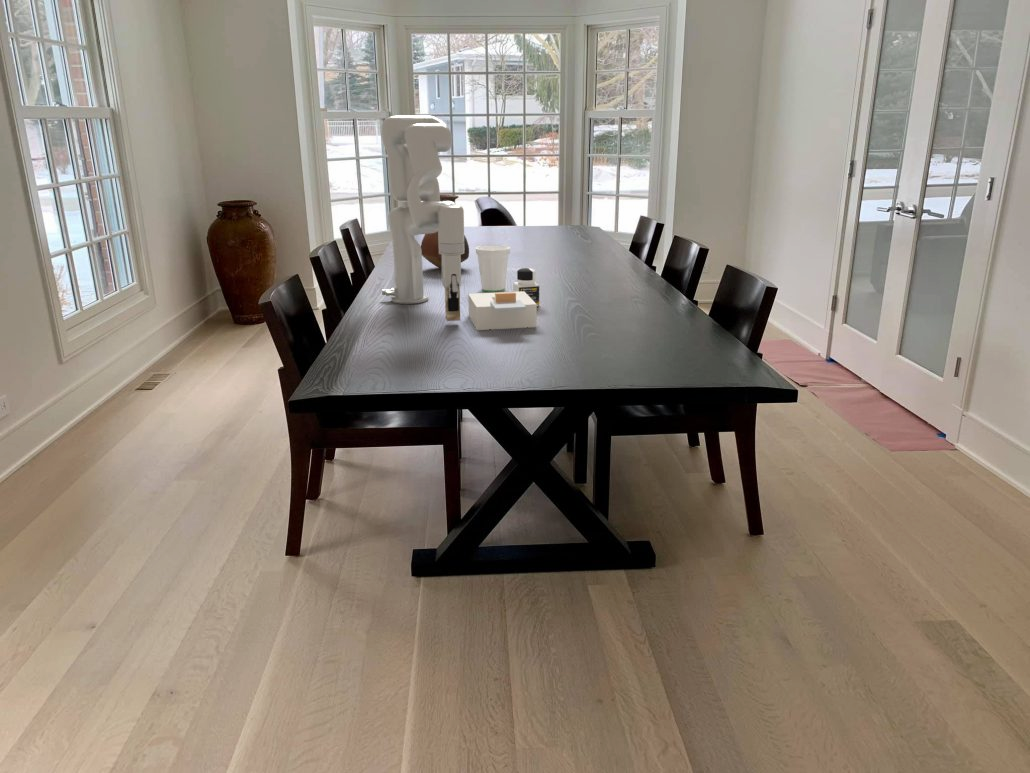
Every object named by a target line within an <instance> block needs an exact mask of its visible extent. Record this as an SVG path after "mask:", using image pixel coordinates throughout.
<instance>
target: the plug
mask: <svg viewBox="0 0 1030 773" xmlns="http://www.w3.org/2000/svg"><path fill="white" fill-rule="evenodd" d="M451 280H452V279H451ZM458 285H459V284H458ZM450 288H452V286H450ZM460 288H461V287H460ZM460 288H458V297H459V311H448V298H449V289H448V287H447V289H445V288H444V302H445V303H444V304H445V306H444V307H445V308H444V309H445V320H446V322H454V321H456V322H457V321H461V289H460ZM451 291H452V290H451Z"/></svg>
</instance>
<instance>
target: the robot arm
mask: <svg viewBox="0 0 1030 773" xmlns="http://www.w3.org/2000/svg"><path fill="white" fill-rule="evenodd" d="M381 137H382V138H381V139H382V142H383V145H384V147H385V151H386V155H387V158H388V169H389V180H390V181H389V182H390V191H391V196H392V198H393V199H394V200H395V201H397V202H401V203H407V205H402V206H396V207H394V208H392V209H391V210H390V211H389V213H388V225H389V229H390V230H389V231H390V234H391V241H392V252H393V269H394V270H393V272H394V286H393V287H391V289H390V288H389V289H387V288H386V289H385V288H384V289H381V293H382V294H381V295H382V296H386V297H389V296H391V298H390V299H391V302H393V303H395V304H402V305H412V304H413V305H414V304H421V303H425V302H427V301H428V300H429V295H428V294H425V293H424V276H423V256H422V250H421V244H419V242H418V241H417V239H415V237H414V236H418V235H425V234H432V233H436V232H438V245H439V254H441V255H442V270H441V284H442V287H443V288H444V290H445V289H447V287H448V289H449V298H448V311H459V297H458V288H461V287H462V286H461V285H462V266H461V265H462V264H461V263H462V262H461V254H464V235H465V221H464V220H465V216H464V215H465V210H464V207H463V206H461V205H460V204H456V202H455V201H454V202H452V201H440V195H441V192H440V183H439V181H438V180H439V179H438V177H440V175H441V174H442V171H443V167H442V162H441V159H440V157H439V153H445V152H446V153H447V152H448V151H450V150H451V148H452V145H453V135H452V132H451V130H450V127H449V126H448V125H447V124H446V123H445V122H444V121H442V120H440V119H439V118H437V117H435V116H434V115H411V114H410V115H408V114H407V115H405V114H404V115H402V114H400V115H392V116H388V117H387V118H385V119H384V120H383V122H382V124H381ZM451 279H452V280H451ZM458 284H459V285H458ZM450 286H452V288H450ZM451 290H452V291H451Z"/></svg>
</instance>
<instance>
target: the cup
mask: <svg viewBox="0 0 1030 773" xmlns="http://www.w3.org/2000/svg"><path fill="white" fill-rule="evenodd" d="M475 254H476V255H477V259H478V268H479V277H480V285H481V290H482V291H483V292H485V291H489V292H488V293H497V292H496V291H501V292H504V291H505V289H506V284H507V283H506V281H507V272H508V271H507V270H508V264H509V263H508V261H509V256H510V254H511V247H510V246H508V245H503V244H501V245H500V244H488V245H479V246H476V247H475ZM503 290H504V291H503Z"/></svg>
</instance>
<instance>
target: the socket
mask: <svg viewBox="0 0 1030 773" xmlns="http://www.w3.org/2000/svg"><path fill="white" fill-rule="evenodd" d="M506 292H507V291H501V292H480V293H479V292H478V293H468V295H467V296H468V297H467V298H468V300H467V301H468V305H467V306H468V316H469V319H470V318H471V319H470V320H471V323H472V324H473V326H474V328H475V327H476V328H475V330H476V331H487V330H489V329H491V330H505V329H508V330H509V329H524V328H527V327H528V328H537V315H538V314H537V313H538V312H537V307H538V306H537V304H536V303H535V302H534V301H533V300H532V299H531V298H530V297H529V296H528V295H527V294H526V293H525V292H524V291H520V292H515V293H516V300H520V301H521V302H522V303H523V304H524V305H525V306H526V310H505V311H495V310H494V308H493V307H492V306H491V304H490V301H495V293H506ZM489 331H490V330H489Z"/></svg>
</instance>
